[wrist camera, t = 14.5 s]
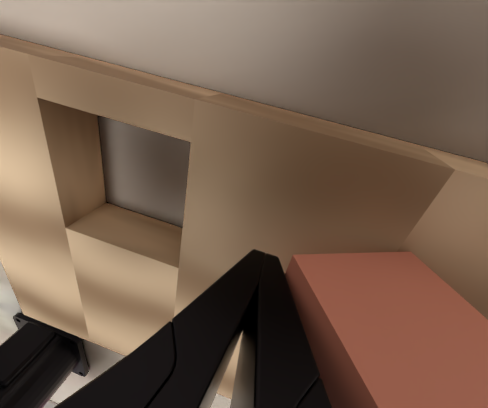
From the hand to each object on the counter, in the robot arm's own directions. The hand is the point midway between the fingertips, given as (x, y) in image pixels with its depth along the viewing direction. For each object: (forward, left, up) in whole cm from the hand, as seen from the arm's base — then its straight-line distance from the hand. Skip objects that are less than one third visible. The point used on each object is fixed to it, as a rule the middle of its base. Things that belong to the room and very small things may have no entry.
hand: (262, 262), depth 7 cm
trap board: (-4, 0, -4) cm, 6 cm away
